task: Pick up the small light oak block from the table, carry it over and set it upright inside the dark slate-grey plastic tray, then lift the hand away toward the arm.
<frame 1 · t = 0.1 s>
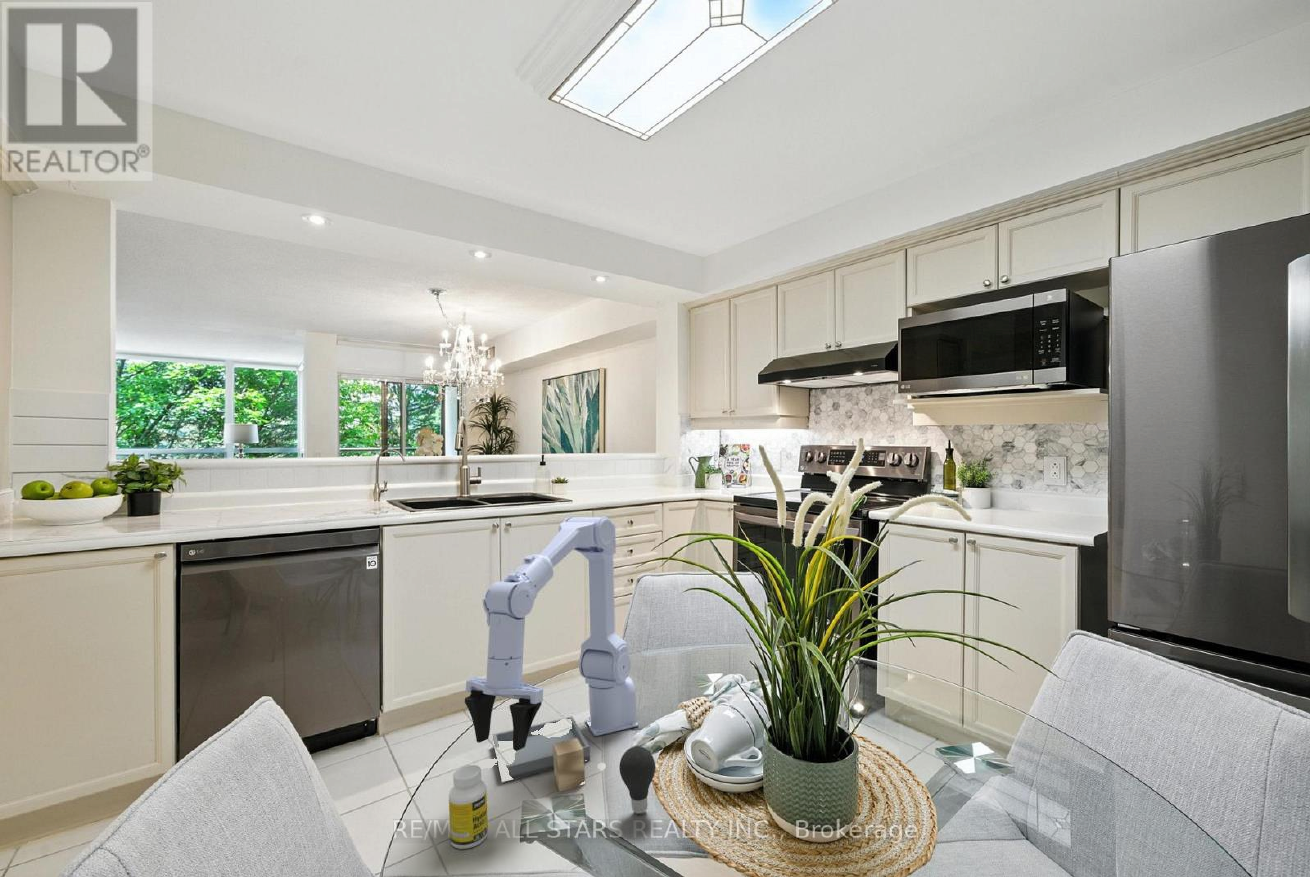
hand: (500, 744, 92), 10 cm above the table, tool pointing down, fingers open, 7 cm apart
tray: (540, 753, 109), on the table
supplement bottle: (469, 839, 85), on the table
light bulb: (640, 814, 89), on the table
oak block: (569, 781, 99), on the table
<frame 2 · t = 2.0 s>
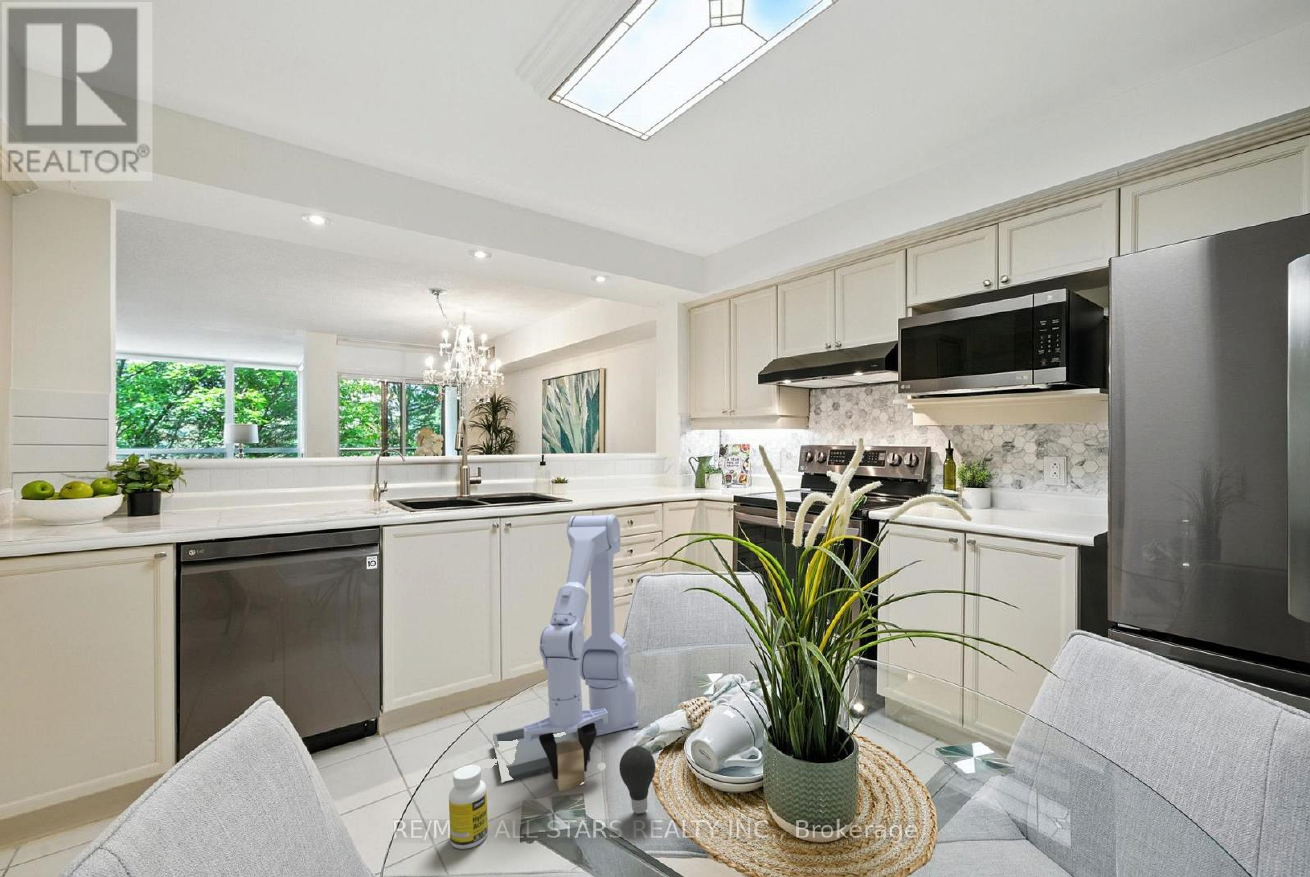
hand: (569, 772, 99), 1 cm above the table, tool pointing down, fingers closed on oak block, 4 cm apart
oak block: (569, 781, 99), on the table, touching gripper
everything else where it was.
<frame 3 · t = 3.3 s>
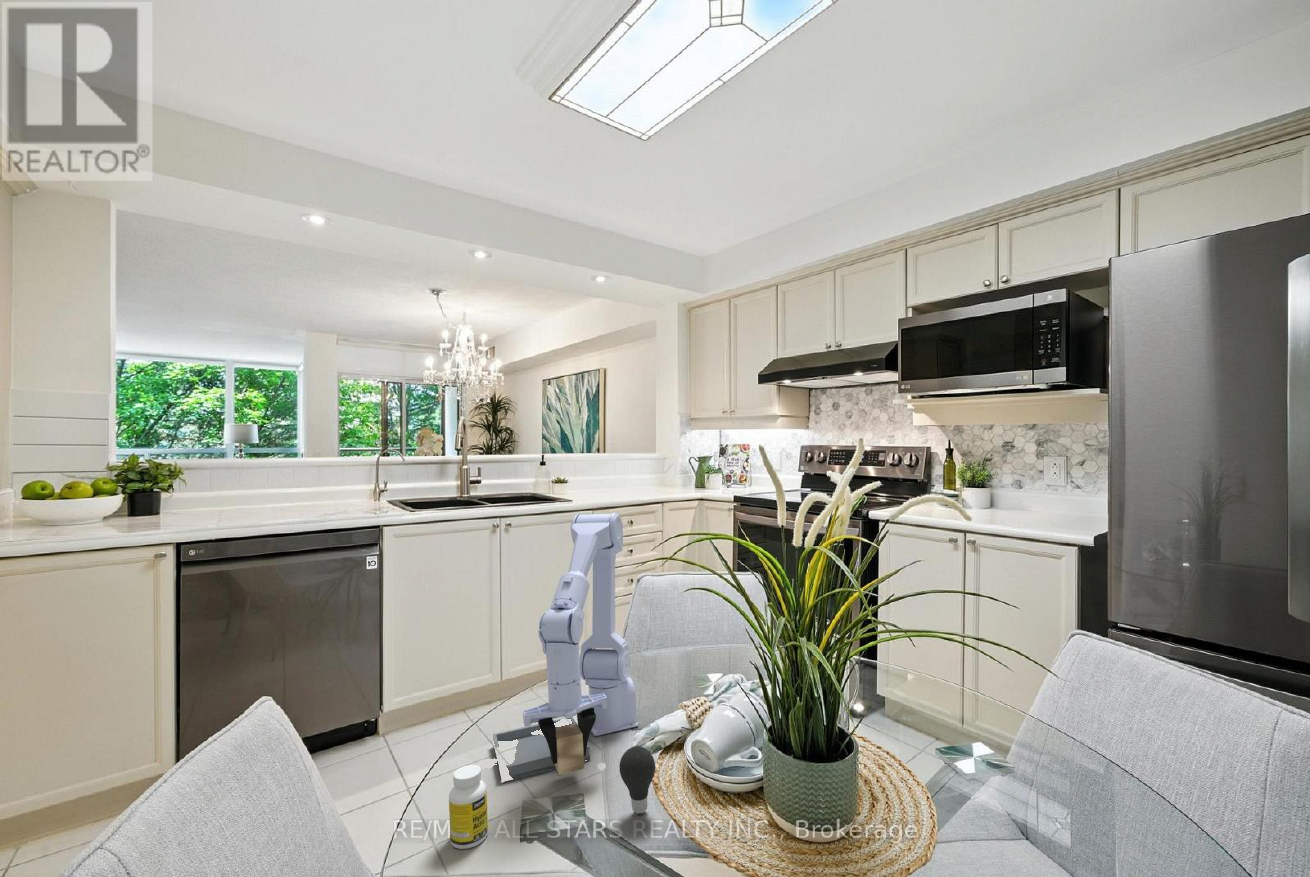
hand: (568, 757, 99), 4 cm above the table, tool pointing down, fingers closed on oak block, 4 cm apart
oak block: (568, 765, 99), point 3 cm above the table, touching gripper
everything else where it was.
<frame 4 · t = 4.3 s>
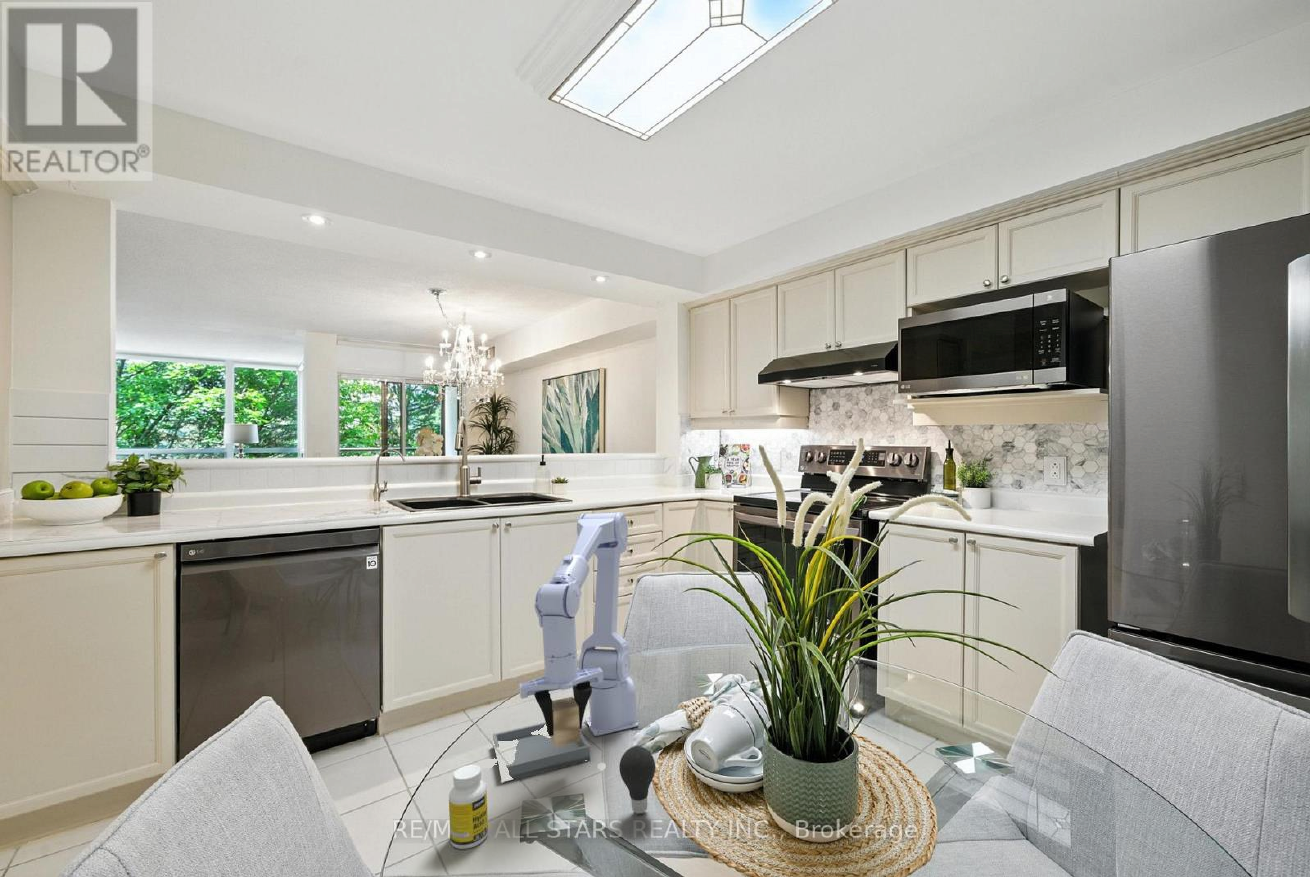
hand: (564, 730, 100), 8 cm above the table, tool pointing down, fingers closed on oak block, 4 cm apart
oak block: (565, 738, 100), point 7 cm above the table, touching gripper
everything else where it was.
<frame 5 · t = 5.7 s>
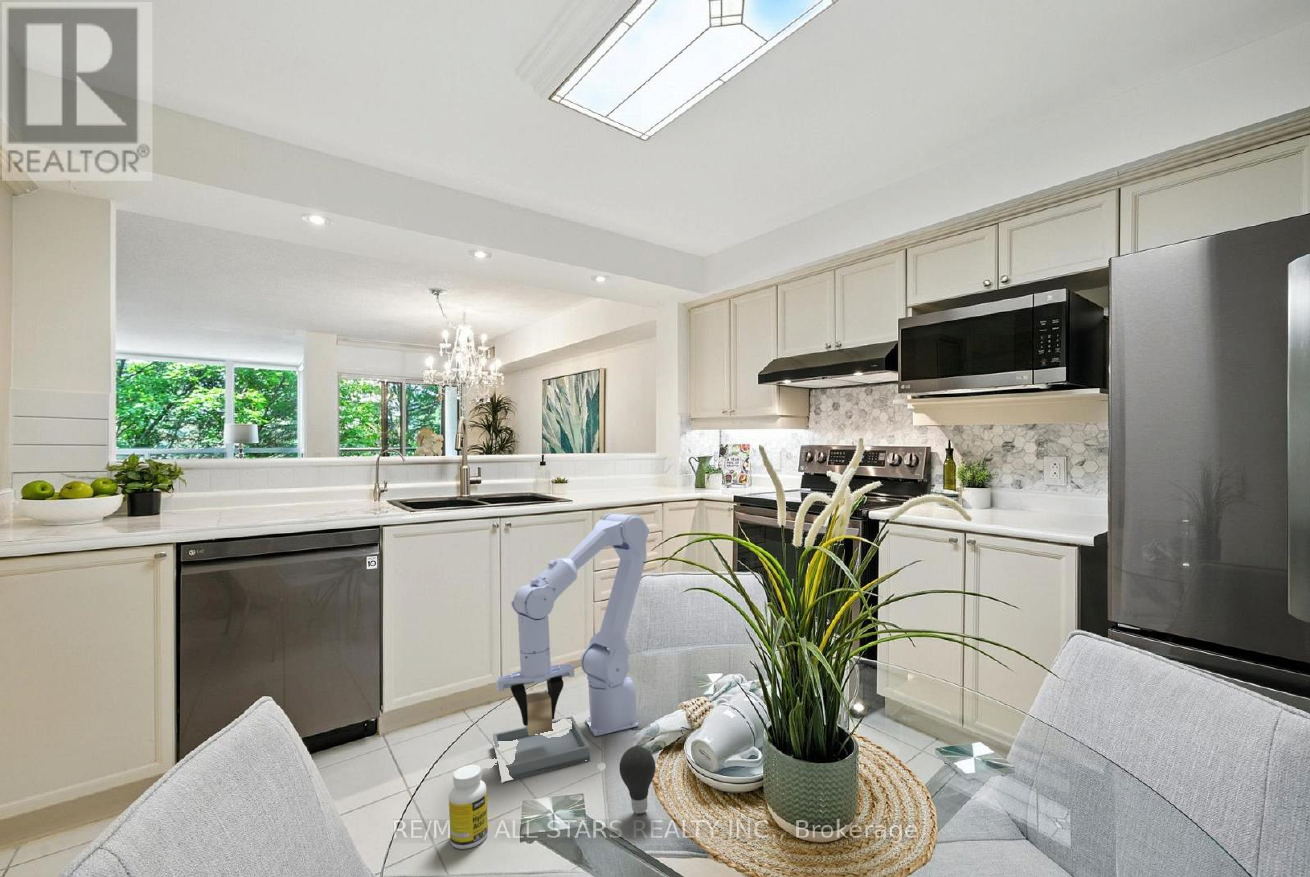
hand: (538, 720, 109), 6 cm above the table, tool pointing down, fingers closed on oak block, 4 cm apart
oak block: (538, 728, 109), point 5 cm above the table, touching gripper
everything else where it was.
when the fingers open (4 cm above the table, at t = 6.6 s): oak block drops 2 cm, resting on tray.
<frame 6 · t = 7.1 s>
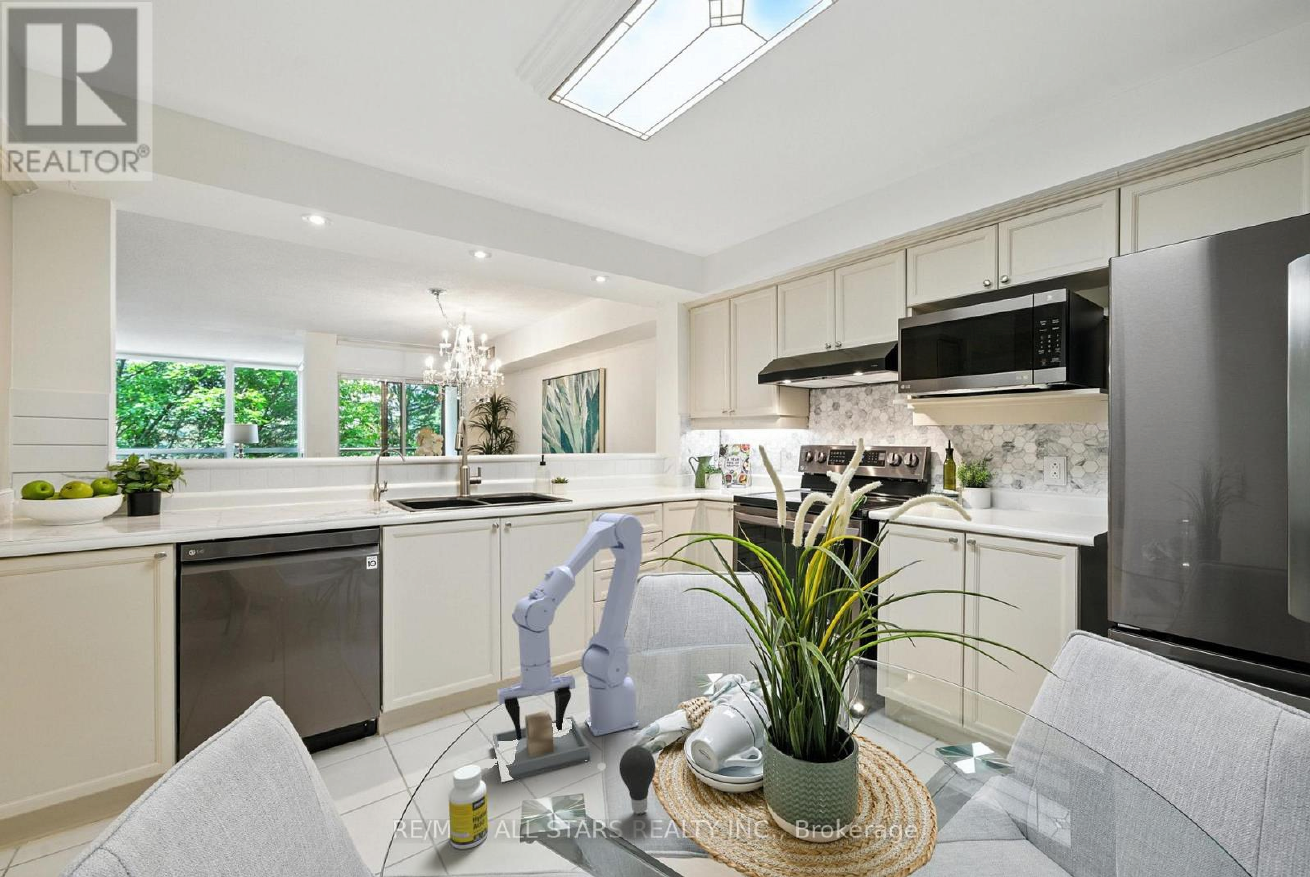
hand: (539, 732, 109), 4 cm above the table, tool pointing down, fingers open, 7 cm apart
oak block: (540, 749, 109), point 1 cm above the table, touching tray
everything else where it was.
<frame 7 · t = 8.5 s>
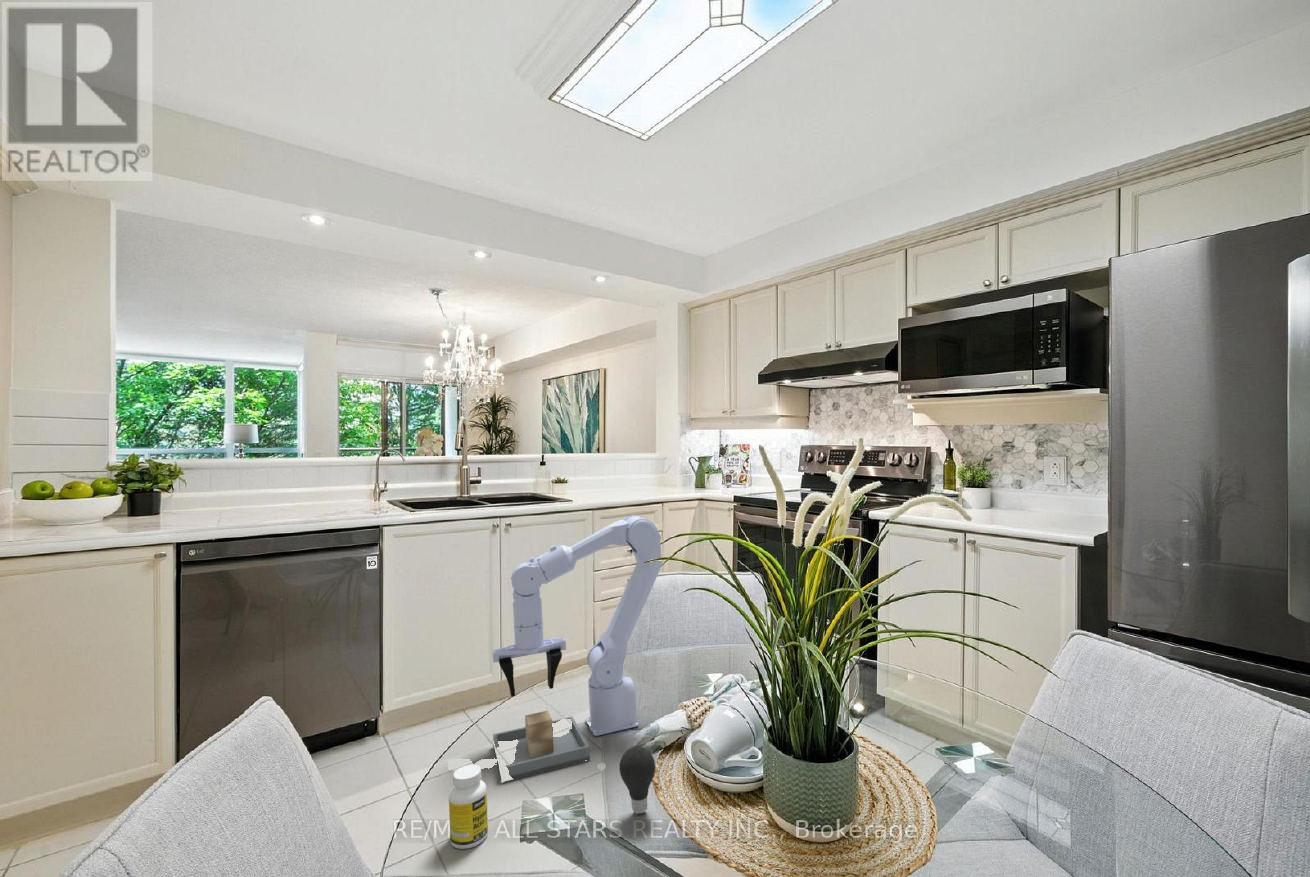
hand: (531, 690, 116), 9 cm above the table, tool pointing down, fingers open, 7 cm apart
nothing on the table moved.
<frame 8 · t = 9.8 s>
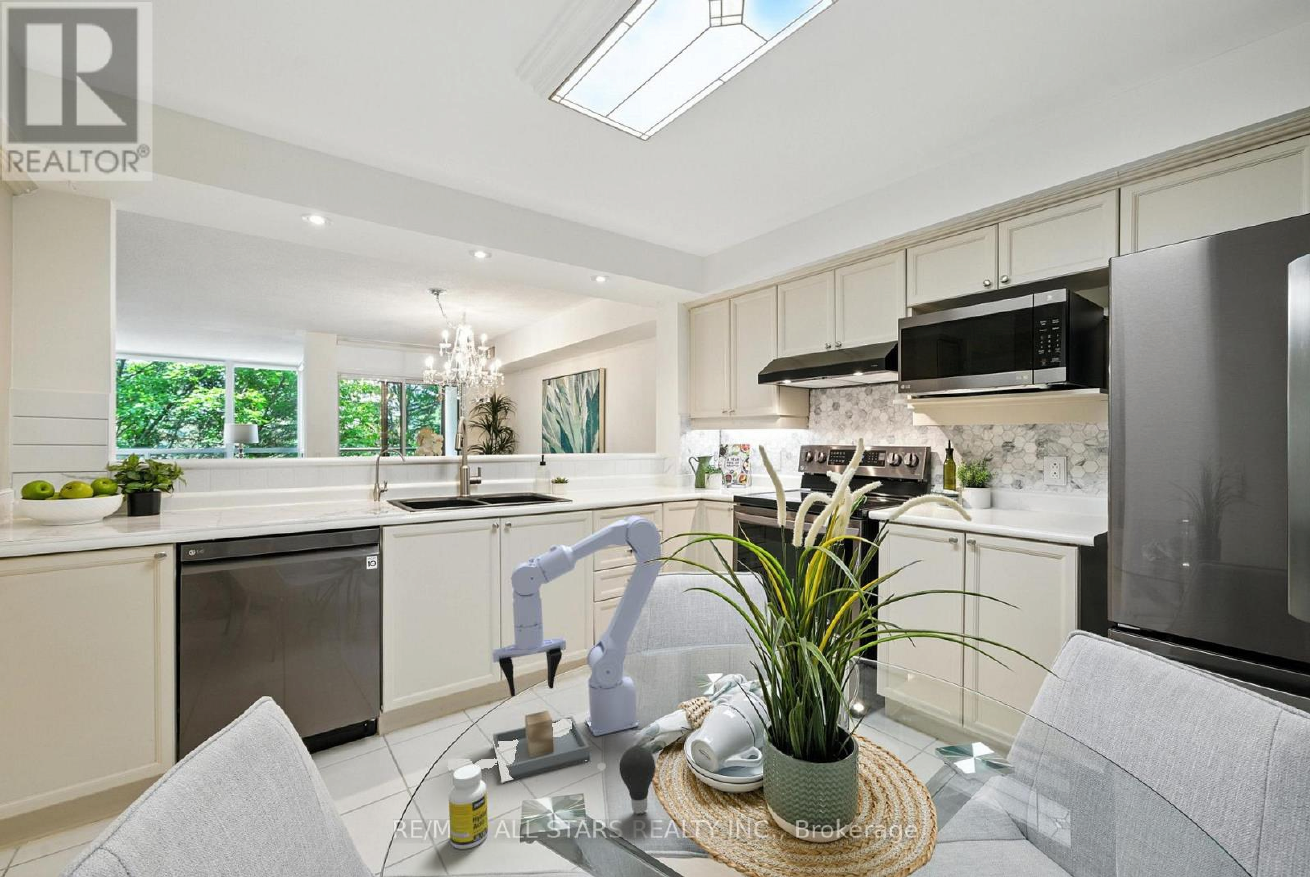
hand: (531, 690, 116), 9 cm above the table, tool pointing down, fingers open, 7 cm apart
nothing on the table moved.
at the end: oak block inside the target area on the tray (0.1 cm from its centre), point 0.8 cm above the tray's base; oak block tilted 0°; the gripper is holding nothing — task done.
